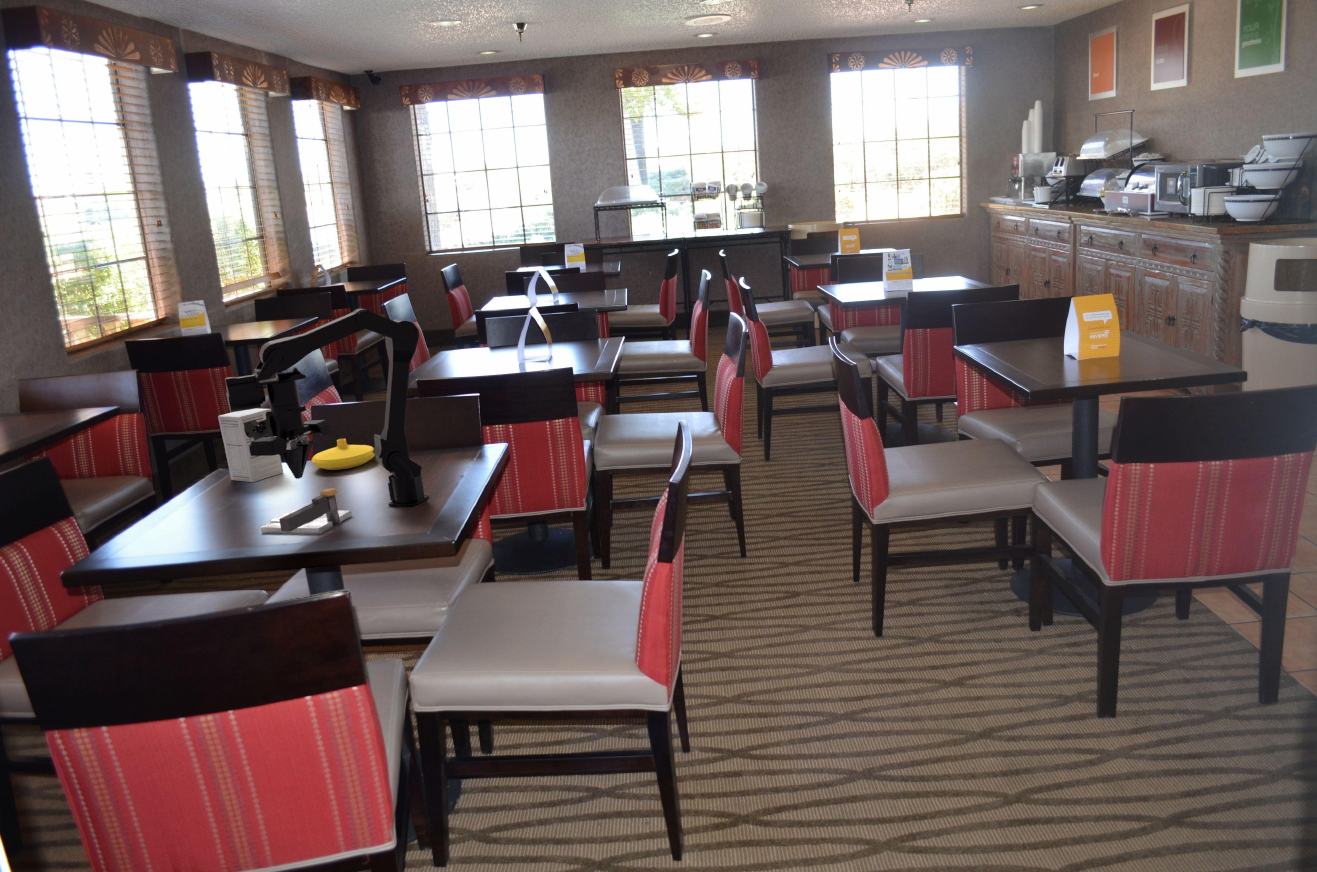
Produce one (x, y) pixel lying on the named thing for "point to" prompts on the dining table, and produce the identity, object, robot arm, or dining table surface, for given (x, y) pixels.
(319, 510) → the bar
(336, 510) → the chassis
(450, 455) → the dining table surface
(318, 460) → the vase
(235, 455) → the supplement box
